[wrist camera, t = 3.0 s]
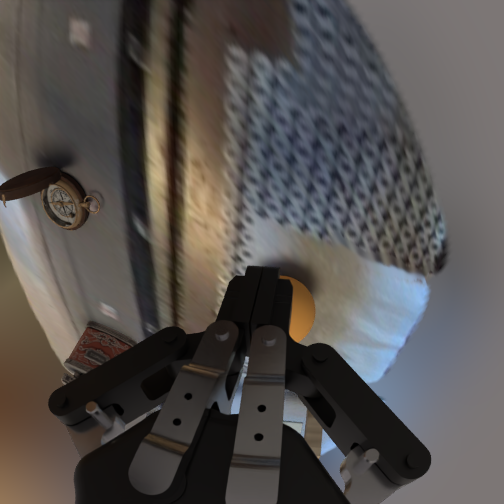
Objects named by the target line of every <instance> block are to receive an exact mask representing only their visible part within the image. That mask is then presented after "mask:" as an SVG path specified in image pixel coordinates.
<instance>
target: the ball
mask: <svg viewBox="0 0 504 504" xmlns="http://www.w3.org/2000/svg"><path fill="white" fill-rule="evenodd" d="M280 279H290V281H291V283H292V285H293V301H292V314H291V323H290V331H289V334H290V336H291V338H292V339H293V340H294V341H296V342H297V343H298V342H299V341H301V340H302V339H303V338H304V337H305V336H306V335H307V334H308V333H309V331H310V329H311V328H312V325H313V323H314V319H315V304H314V300H313V297H312V295H311V293H310V292H309V290H308V289H307V288H306V287H305V286H304V285H303V284H302V283H301V282H299V281H298V280H296V279H294V278H291V277H288V276H280Z"/></svg>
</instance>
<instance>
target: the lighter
mask: <svg viewBox="0 0 504 504" xmlns="http://www.w3.org/2000/svg"><path fill="white" fill-rule="evenodd" d="M136 344H137V343H136V342H135V341H134V340H132V339H131V338H129V337H127V336H125V335H123V334H121V333H119V332H117V331H115V330H113V329H111V328H108V327H106V326H104V325H101V324H98V323H95V322H92V321H90V322H89V323H88V324H87V326H86V330H85V332H84V333H83V335H82V336H81V338H80V340H79V341H78V343H77V345H76V346H75V348H74V350H73V351H72V353H71V355H70V357H69V358H68V359H66V361H65V363H64V365H65V367H66V368H67V369H68V370H69V371H71V372H72V373H74V377H71V376H69V375H68V374H66V373H64V375H63V377H62V379H61V380H62V383H63V384H65V385H66V384H67V383H69V382H71V381H73V380H75V379H76V378H78V377H80V376H82V375H84V374H85V373H87V372H89V371H91V370H92V369H94V368H96V367H98V366H99V365H101V364H103V363H105V362H107V361H108V360H110V359H112V358H114V357H115V356H117V355H119V354H121V353H122V352H124V351H126V350H127V349H129V348H131V347H133V346H134V345H136Z"/></svg>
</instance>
